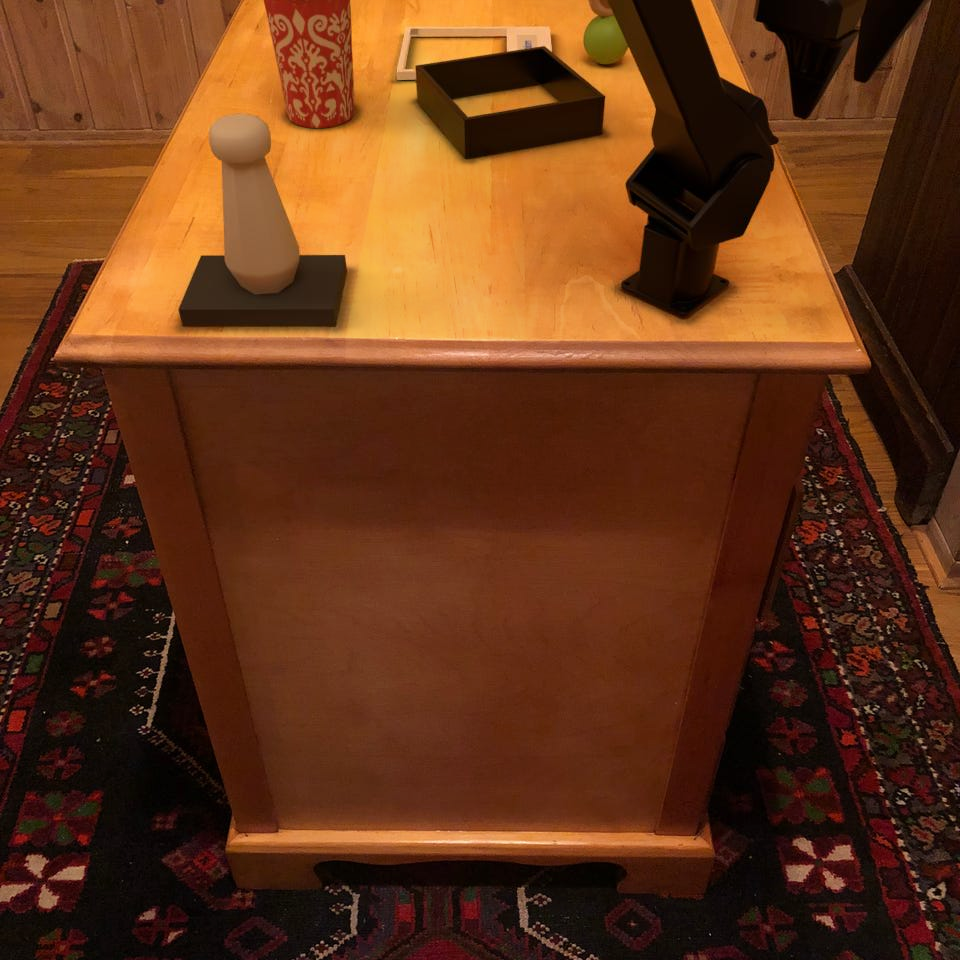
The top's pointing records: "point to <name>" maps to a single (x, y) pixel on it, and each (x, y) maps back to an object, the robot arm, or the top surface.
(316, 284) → the mat
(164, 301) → the top surface
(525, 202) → the top surface
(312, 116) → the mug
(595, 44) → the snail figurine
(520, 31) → the photo frame
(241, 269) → the salt shaker
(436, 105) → the black open square box
